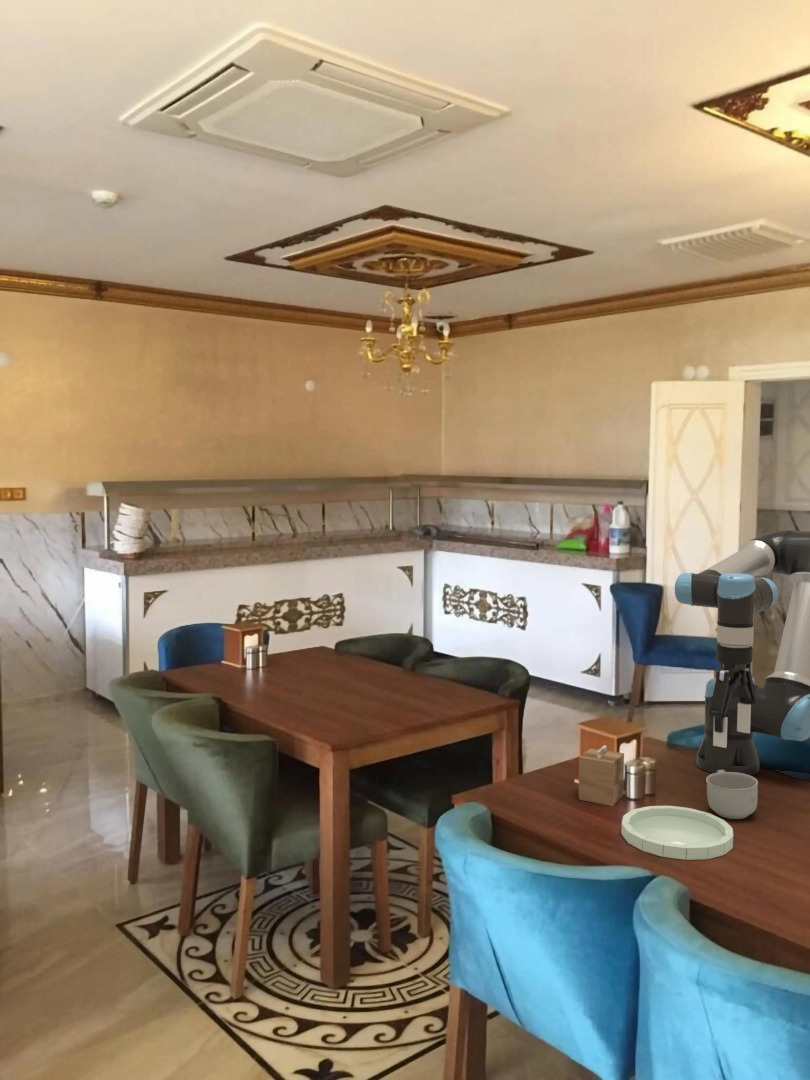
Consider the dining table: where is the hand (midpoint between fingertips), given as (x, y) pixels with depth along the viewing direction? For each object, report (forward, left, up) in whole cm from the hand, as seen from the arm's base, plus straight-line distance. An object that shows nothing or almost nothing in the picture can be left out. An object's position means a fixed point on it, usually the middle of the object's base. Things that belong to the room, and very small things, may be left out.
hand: (731, 739), depth 204 cm
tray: (+21, -3, -16) cm, 27 cm away
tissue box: (+11, -26, -16) cm, 33 cm away
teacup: (0, 0, -17) cm, 17 cm away
